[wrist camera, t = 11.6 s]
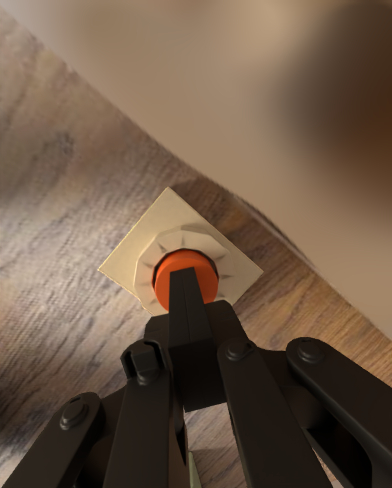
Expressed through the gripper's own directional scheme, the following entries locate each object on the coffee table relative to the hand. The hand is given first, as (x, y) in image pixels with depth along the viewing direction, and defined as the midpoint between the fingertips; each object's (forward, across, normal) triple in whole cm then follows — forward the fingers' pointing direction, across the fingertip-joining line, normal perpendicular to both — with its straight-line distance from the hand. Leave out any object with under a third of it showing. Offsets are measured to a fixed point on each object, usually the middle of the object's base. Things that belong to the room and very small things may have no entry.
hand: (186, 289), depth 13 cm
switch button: (+2, 0, 0) cm, 2 cm away
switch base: (+6, 0, 0) cm, 6 cm away
